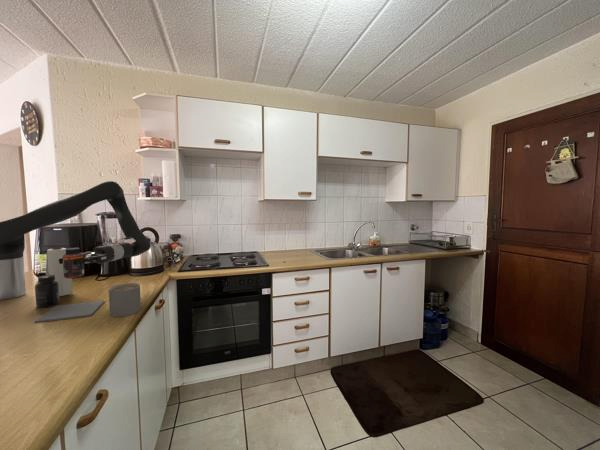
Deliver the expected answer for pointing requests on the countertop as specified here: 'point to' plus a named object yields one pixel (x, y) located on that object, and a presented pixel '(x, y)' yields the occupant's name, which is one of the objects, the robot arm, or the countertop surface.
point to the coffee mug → (124, 299)
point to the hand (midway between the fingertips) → (66, 261)
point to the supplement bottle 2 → (68, 268)
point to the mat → (70, 311)
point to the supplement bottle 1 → (47, 291)
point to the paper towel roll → (59, 270)
